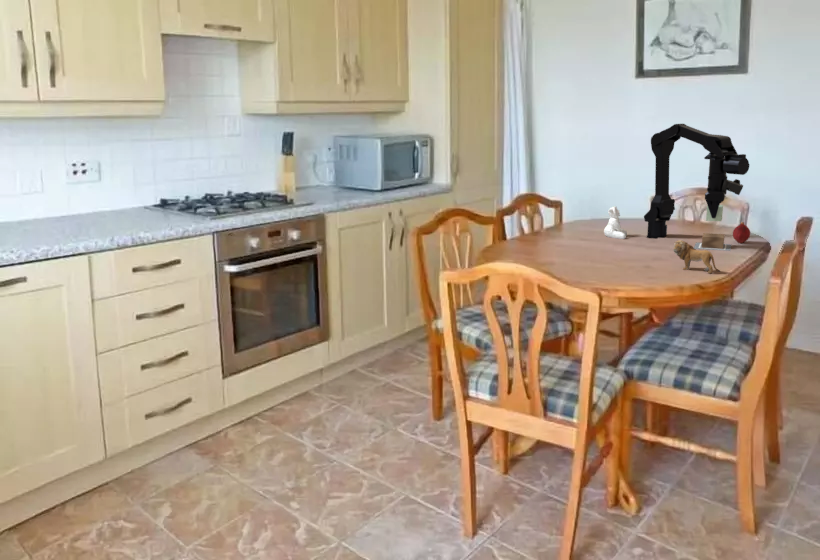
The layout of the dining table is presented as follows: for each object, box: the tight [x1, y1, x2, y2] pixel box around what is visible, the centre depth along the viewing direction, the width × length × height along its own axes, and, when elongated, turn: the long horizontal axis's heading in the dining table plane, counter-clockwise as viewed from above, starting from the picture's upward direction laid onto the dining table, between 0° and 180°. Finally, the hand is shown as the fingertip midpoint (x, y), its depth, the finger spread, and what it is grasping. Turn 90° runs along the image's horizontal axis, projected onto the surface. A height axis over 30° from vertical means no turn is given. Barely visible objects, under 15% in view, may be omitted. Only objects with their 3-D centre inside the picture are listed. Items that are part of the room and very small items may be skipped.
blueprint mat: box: [693, 242, 732, 252], centre depth 258 cm, size 12×12×1 cm
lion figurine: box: [672, 240, 721, 274], centre depth 224 cm, size 15×5×9 cm, turn 51°
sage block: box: [705, 204, 724, 222], centre depth 255 cm, size 5×5×5 cm
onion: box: [732, 221, 751, 244], centre depth 262 cm, size 6×6×8 cm
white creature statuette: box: [603, 205, 628, 240], centre depth 281 cm, size 10×9×12 cm
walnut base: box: [701, 232, 725, 249], centre depth 257 cm, size 7×7×4 cm
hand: (714, 217), depth 255 cm, fingers closed on sage block, 5 cm apart
